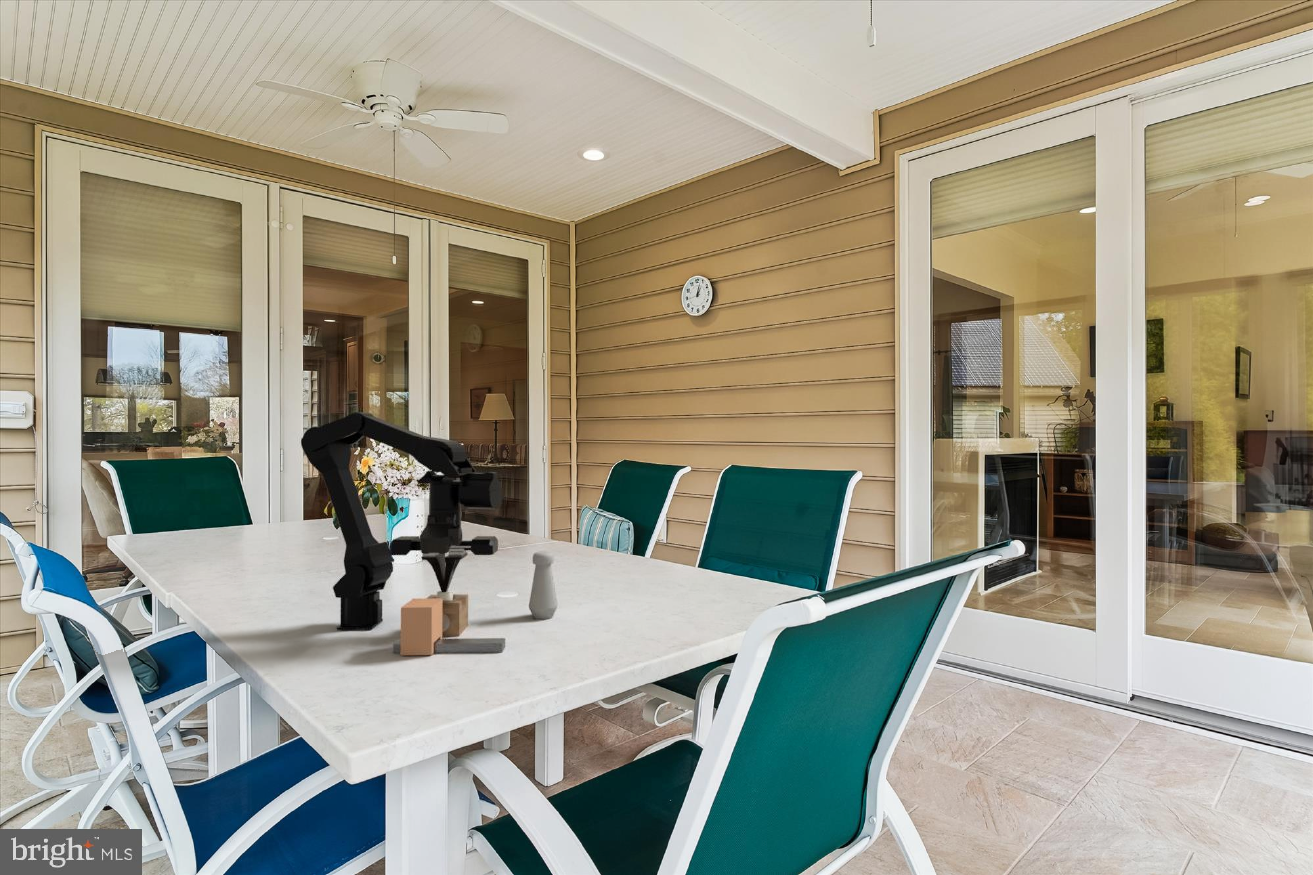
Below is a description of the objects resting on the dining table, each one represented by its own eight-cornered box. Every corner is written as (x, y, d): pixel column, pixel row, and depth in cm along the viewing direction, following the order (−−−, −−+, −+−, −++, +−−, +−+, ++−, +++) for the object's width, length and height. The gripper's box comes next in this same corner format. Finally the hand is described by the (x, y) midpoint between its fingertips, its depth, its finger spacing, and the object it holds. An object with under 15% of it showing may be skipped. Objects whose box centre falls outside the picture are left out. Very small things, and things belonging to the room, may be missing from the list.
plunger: (435, 609, 128) (435, 593, 128) (439, 605, 131) (439, 590, 131) (450, 609, 128) (450, 593, 128) (454, 605, 131) (454, 590, 131)
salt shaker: (560, 613, 142) (561, 550, 143) (554, 620, 137) (554, 554, 137) (532, 612, 143) (533, 549, 143) (524, 619, 137) (525, 554, 137)
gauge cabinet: (419, 636, 125) (419, 603, 125) (431, 625, 133) (431, 594, 133) (458, 636, 126) (459, 603, 126) (468, 625, 133) (468, 594, 133)
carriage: (400, 655, 114) (400, 607, 114) (413, 643, 120) (413, 598, 120) (431, 654, 114) (431, 607, 114) (442, 643, 121) (442, 598, 121)
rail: (393, 653, 116) (393, 644, 116) (399, 647, 119) (399, 639, 119) (502, 652, 116) (502, 643, 116) (505, 646, 119) (505, 638, 119)
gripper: (378, 512, 121) (378, 602, 121) (487, 512, 122) (486, 601, 122) (399, 506, 132) (399, 588, 132) (498, 506, 133) (498, 588, 133)
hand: (444, 591), depth 129 cm, fingers closed, pressing on plunger
